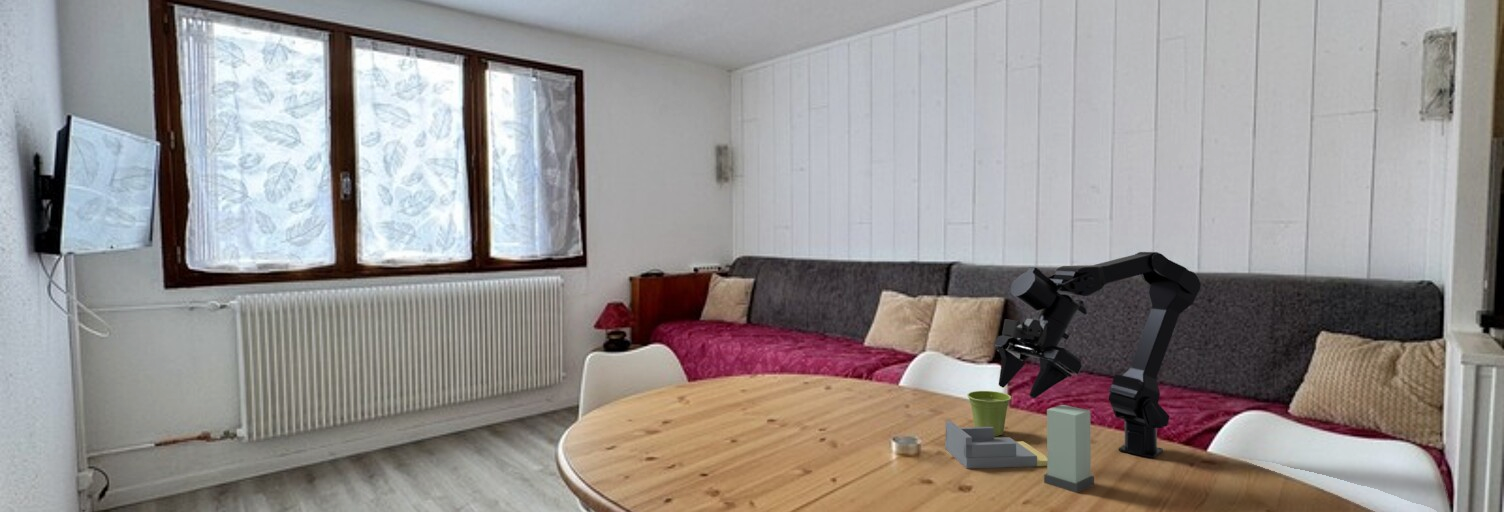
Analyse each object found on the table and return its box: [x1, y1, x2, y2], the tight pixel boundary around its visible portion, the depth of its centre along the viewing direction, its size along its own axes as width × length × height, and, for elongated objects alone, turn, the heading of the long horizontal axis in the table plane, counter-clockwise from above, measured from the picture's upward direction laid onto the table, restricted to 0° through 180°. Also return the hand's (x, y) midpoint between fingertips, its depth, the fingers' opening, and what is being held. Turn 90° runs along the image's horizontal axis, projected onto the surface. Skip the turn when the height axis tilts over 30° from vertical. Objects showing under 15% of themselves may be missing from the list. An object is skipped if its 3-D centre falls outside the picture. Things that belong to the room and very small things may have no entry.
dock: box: [944, 420, 1047, 470], centre depth 131 cm, size 17×12×6 cm
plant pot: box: [966, 390, 1012, 438], centre depth 147 cm, size 9×9×9 cm
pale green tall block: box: [1043, 404, 1095, 493], centre depth 116 cm, size 6×6×14 cm
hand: (1015, 391), depth 124 cm, fingers open, 9 cm apart
